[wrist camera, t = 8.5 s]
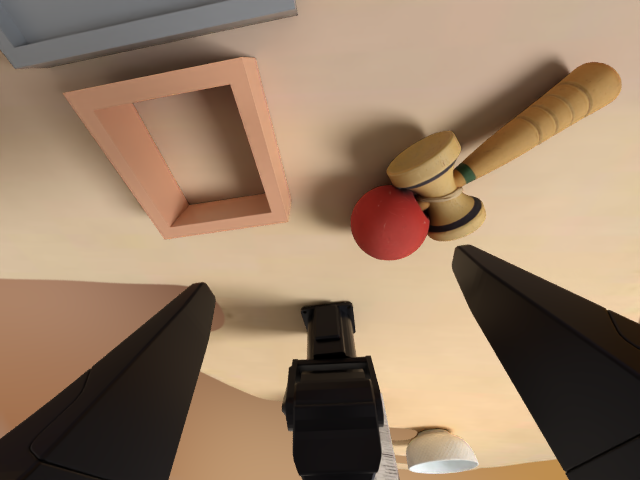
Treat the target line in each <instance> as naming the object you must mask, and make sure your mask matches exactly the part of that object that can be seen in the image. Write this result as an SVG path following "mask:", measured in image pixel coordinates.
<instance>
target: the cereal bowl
mask: <svg viewBox="0 0 640 480" xmlns="http://www.w3.org/2000/svg"><path fill="white" fill-rule="evenodd" d="M406 457H407V463H408V468H409V470H411V471H413V472H418V473H431V474H433V473H434V474H439V473H454V472H461V471H466V470H470V469H473V468H475V467H477V466H478V461H477V458H476V456H475V454H474V452H473V450H472V448H471V447H470V445H469V444H468V443H467V442H466V441H465V440H463V439H462V438H460V437H459V436H457V435H454V434H451V433H449V432H448V431H446V430H444V429H430V430H425V431H422V432H420V433H418V436H417V437H415V438H414V439H412V440H411V441H410V443H409V444H408V447H407V451H406Z"/></svg>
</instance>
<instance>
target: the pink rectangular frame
mask: <svg viewBox="0 0 640 480" xmlns="http://www.w3.org/2000/svg"><path fill="white" fill-rule="evenodd" d="M229 84H230V85H231V88H232V91H233V94H234V97H235V101H236V104H237V107H238V110H239V113H240V116H241V119H242V122H243V125H244V128H245V131H246V135H247V138H248V141H249V144H250V147H251V150H252V153H253V156H254V159H255V162H256V166H257V169H258V172H259V175H260V178H261V181H262V184H263V187H264V190H265V194H259V195H252V196H246V197H239V198H233V199H226V200H219V201H213V202H206V203H200V204H193V205H189V204H188V202H187V200H186V198H185V197H184V195H183V193H182V191H181V189H180V188H179V186H178V184H177V182H176V180H175V179H174V177H173V175H172V173H171V171H170V170H169V168H168V166H167V164H166V163H165V161H164V159H163V157H162V155H161V154H160V152H159V150H158V148H157V146H156V145H155V143H154V141H153V139H152V137H151V136H150V134H149V132H148V130H147V128H146V127H145V125H144V123H143V121H142V119H141V118H140V116H139V114H138V112H137V111H136V109H135V107H134V105H133V103H135V102H140V101H145V100H151V99H156V98H161V97H166V96H171V95H177V94H182V93H187V92H192V91H197V90H203V89H208V88H213V87H218V86H223V85H229ZM63 95H64V96H65V98H66V99H67V100H68V102H69V103H70V105H71V106H72V108H73V109H74V110H75V112H76V113H77V115H78V116H79V118H80V119H81V120H82V122H83V123H84V125H85V126H86V128H87V129H88V130H89V132H90V133H91V135H92V136H93V138H94V139H95V140H96V142H97V143H98V145H99V146H100V148H101V149H102V150H103V152H104V153H105V155H106V156H107V158H108V159H109V160H110V162H111V163H112V165H113V166H114V168H115V169H116V170H117V172H118V173H119V175H120V176H121V178H122V179H123V180H124V182H125V183H126V185H127V186H128V188H129V189H130V190H131V192H132V193H133V195H134V196H135V198H136V199H137V200H138V202H139V203H140V205H141V206H142V208H143V209H144V211H145V212H146V213H147V215H148V216H149V218H150V219H151V221H152V222H153V223H154V225H155V226H156V228H157V229H158V231H159V232H160V233H161V235H162V236H163V238H164V239H172V238H179V237H186V236H193V235H200V234H207V233H214V232H221V231H228V230H235V229H242V228H249V227H256V226H263V225H270V224H277V223H284V222H288V220H289V213H290V207H291V201H292V200H291V196H290V192H289V188H288V184H287V180H286V176H285V172H284V168H283V164H282V160H281V156H280V153H279V149H278V145H277V141H276V137H275V133H274V129H273V125H272V121H271V117H270V113H269V109H268V105H267V101H266V97H265V93H264V90H263V86H262V82H261V78H260V74H259V70H258V66H257V62H256V58H249V57H239V58H234V59H230V60H225V61H220V62H215V63H210V64H205V65H200V66H195V67H190V68H185V69H180V70H175V71H170V72H165V73H160V74H155V75H150V76H145V77H140V78H135V79H130V80H125V81H120V82H115V83H110V84H105V85H100V86H95V87H90V88H85V89H80V90H75V91H70V92H65V93H63Z"/></svg>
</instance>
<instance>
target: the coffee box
mask: <svg viewBox="0 0 640 480" xmlns="http://www.w3.org/2000/svg"><path fill="white" fill-rule="evenodd" d="M381 398H382V404H383V413H384V427H379V432H380V440H381V447H382V458H381V462H380V466H379V470H378V473H376V475H375V479H374V480H400V479H399V474H398V470H397V464H396V459H395V455H394V450H393V445H392V440H391V435H390V430H389V426H388V421H387V416H386V411H385V406H384V401H383V397H382V393H381Z"/></svg>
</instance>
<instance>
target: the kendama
mask: <svg viewBox="0 0 640 480" xmlns="http://www.w3.org/2000/svg"><path fill="white" fill-rule="evenodd" d="M621 86H622V84H621V78H620V76H619V74H618V73H617V72H616V70H615V69H613V68H612V67H610V66H609V65H606V64H604V63H598V62H591V63H585V64H583V65H581V66H579V67H577V68H576V69H575V70H573V71H572V72H571V73H570V74H569V75H567V76H566V77H565V78H564V79H563V80H561V81H560V82H559V83H558V84H557V85H555V86H554V87H553V88H552V89H550V90H549V91H548V92H547V93H545V94H544V95H543V96H542V97H541V98H540V99H538V100H537V101H535V102H534V103H533V104H532V105H530V106H529V107H528V108H527V109H526V110H524V111H523V112H522V113H520V114H519V115H518V116H516V117H515V118H514V119H513V120H512V121H510V122H509V123H507V124H506V125H505V126H504V127H502V128H501V129H500V130H498V131H497V132H496V133H495V134H493V135H492V136H491V137H490V138H488V139H487V140H486V141H485V142H484V143H483V144H482V145H480V146H479V147H478V148H477V149H476V150H475V151H474V152H473V153H471V154H470V155H469V156H468V157H467V158H466V159H465V160H464V161H463V162H462V163H460V164H459V165H458V166H457V167H456V168H455V169H454V170H453V168H454V164H455V161H456V159H457V157H458V156H459V154H460V151H461V147H460V144H459V142H458V140H457V138H456V137H455V135H454V133H453V132H452V131H443V132H438V133H435V134H432V135H430V136H428V137H426V138H424V139H422V140H420V141H418V142H416V143H415V144H413V145H411V146H410V147H408V148H407V149H406V150H404V151H403V152H402V153H400V154H399V155H398V156H397V157H396V158H395V159H394V160H393V161H392V162H391V163H390V165H389V167H388V168H387V175H388V177H389V178H390V180H391V182H392V185H384V186H379V187H376V188H374V189H372V190H370V191H368V192H367V193H366V194H364V195H363V196H362V197H361V198H360V199H359V201H358V202H357V203H356V205H355V207H354V209H353V212H352V215H351V230H352V234H353V237H354V239H355V241H356V243H357V244H358V246H359V247H360V248H361V249H362V250H363V251H364V252H365V253H367V254H368V255H370V256H372V257H374V258H376V259H380V260H397V259H401V258H404V257H406V256H409V255H410V254H412V253H413V252H415V251H416V250H417V249H418V248H419V247H420V246H421V244H422V243H423V241H424V240H425V238H426V236H427V235H428V236H429V237H430V238H432V239H434V240H437V241H451V240H456V239H459V238H462V237H465V236H467V235H469V234H471V233H473V232H474V231H475V230H477V229H478V228H479V227H480V226H481V225H482V224H483V222H484V220H485V218H486V211H485V208H484V205H483V203H482V201H481V200H480V199H478V198H476V197H473V196H468V195H466V194H464V193H463V192H462V191H463V188H462V186H464V185H465V184H467V183H469V182H471V181H473V180H475V179H477V178H479V177H481V176H483V175H485V174H487V173H489V172H491V171H493V170H495V169H497V168H499V167H501V166H503V165H504V164H506V163H508V162H510V161H512V160H513V159H515V158H517V157H519V156H520V155H522V154H524V153H525V152H527V151H529V150H530V149H532V148H534V147H535V146H536V145H539V144H541V143H542V142H544V141H545V140H547V139H549V138H550V137H552V136H554V135H555V134H557V133H559V132H561V131H562V130H564V129H565V128H567V127H569V126H571V125H572V124H574V123H576V122H577V121H579V120H580V119H582V118H584V117H586V116H588V115H590V114H592V113H593V112H595V111H597V110H599V109H601V108H602V107H604V106H606V105H607V104H609V103H611V102H612V101H613V100H615V99H616V97H617V96H618V95H619V93H620V91H621Z"/></svg>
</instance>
